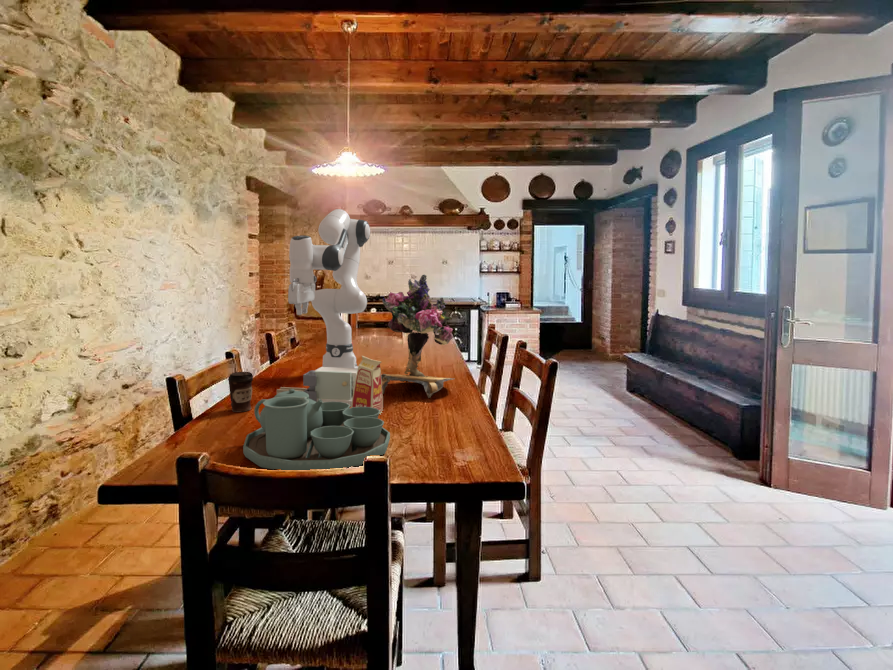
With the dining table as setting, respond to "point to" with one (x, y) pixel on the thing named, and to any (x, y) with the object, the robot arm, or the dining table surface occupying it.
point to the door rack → (289, 389)
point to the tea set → (313, 433)
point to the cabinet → (311, 379)
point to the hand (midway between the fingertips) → (302, 314)
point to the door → (332, 385)
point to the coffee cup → (240, 390)
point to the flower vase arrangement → (423, 319)
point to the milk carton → (368, 385)
